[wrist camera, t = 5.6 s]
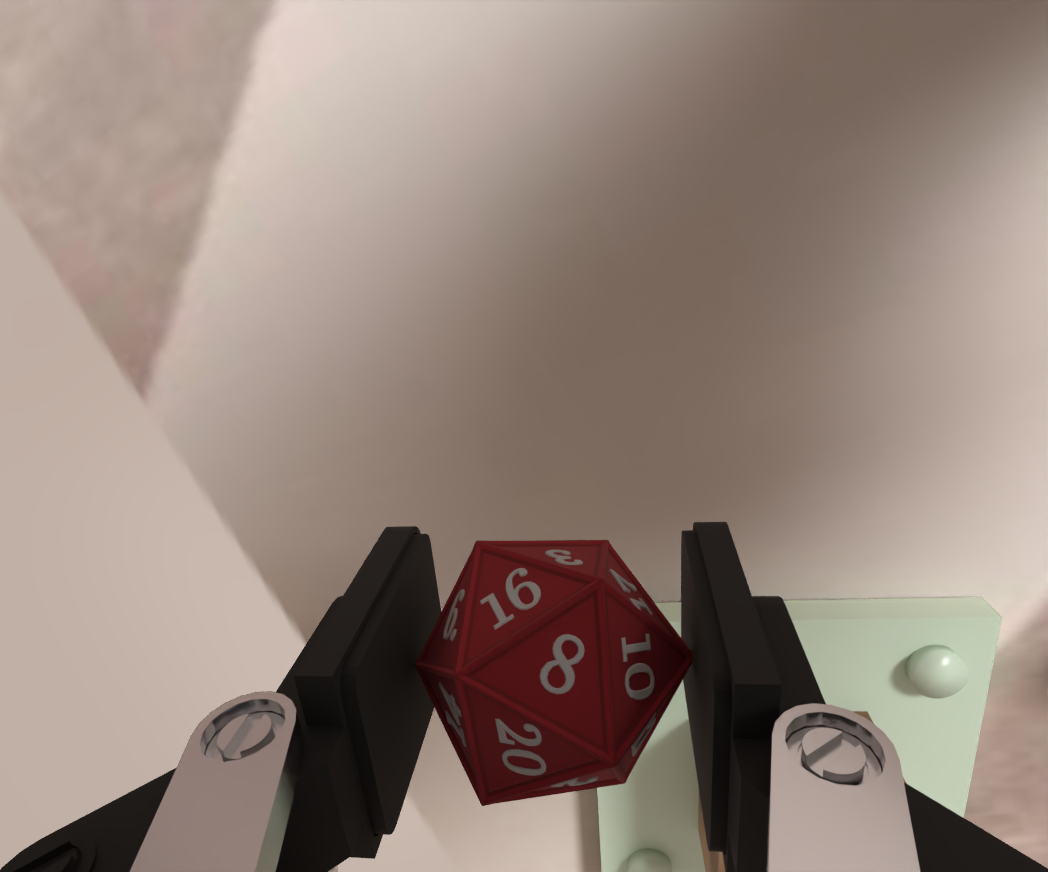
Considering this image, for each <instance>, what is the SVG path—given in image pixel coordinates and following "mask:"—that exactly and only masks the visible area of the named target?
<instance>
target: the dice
mask: <svg viewBox="0 0 1048 872" xmlns="http://www.w3.org/2000/svg"><path fill="white" fill-rule="evenodd" d="M692 663H693V654H692V651H691V650H690V649H689V648H688V646H687V645H686V644H685V642H684V641H683V640H682V638H681V637H680V636H679V634H678V633H677V632H676V630H675V629H674V628H673V627H672V625H671V624H670V623H669V621H668V620H667V619H666V617H665V616H664V615H663V613H662V612H661V611H660V609H659V608H658V607H657V605H656V604H655V603H654V601H653V600H652V599H651V598H650V596H649V595H648V594H647V592H646V591H645V590H644V588H643V587H642V586H641V584H640V583H639V582H638V580H637V579H636V578H635V576H634V575H633V574H632V572H631V571H630V570H629V569H628V567H627V566H626V565H625V563H624V562H623V561H622V559H621V558H620V557H619V555H618V554H617V553H616V551H615V550H614V549H613V547H612V546H611V544H610V543H609V541H608V540H567V541H476V543H475V545H474V548H473V550H472V552H471V554H470V556H469V558H468V560H467V562H466V564H465V566H464V568H463V570H462V572H461V574H460V576H459V578H458V580H457V582H456V584H455V586H454V588H453V590H452V592H451V594H450V596H449V598H448V600H447V602H446V604H445V606H444V608H443V610H442V612H441V614H440V616H439V618H438V620H437V622H436V624H435V626H434V628H433V630H432V632H431V634H430V636H429V638H428V640H427V642H426V644H425V646H424V648H423V650H422V652H421V654H420V656H419V658H418V660H417V661H416V664H415V667H416V670H417V672H418V673H419V675H420V677H421V680H422V682H423V684H424V686H425V688H426V690H427V692H428V694H429V696H430V698H431V700H432V702H433V705H434V707H435V709H436V711H437V713H438V715H439V717H440V719H441V721H442V723H443V725H444V728H445V730H446V732H447V734H448V736H449V738H450V740H451V742H452V744H453V746H454V748H455V751H456V753H457V755H458V757H459V759H460V761H461V763H462V765H463V767H464V769H465V772H466V774H467V776H468V778H469V780H470V782H471V784H472V786H473V788H474V790H475V792H476V795H477V797H478V799H479V801H480V803H481V805H482V806H485V805H489V804H494V803H500V802H507V801H514V800H520V799H527V798H533V797H540V796H546V795H553V794H560V793H566V792H573V791H579V790H586V789H592V788H599V787H606V786H612V785H619V784H625V783H626V781H627V779H628V777H629V775H630V773H631V771H632V769H633V768H634V766H635V764H636V762H637V760H638V759H639V757H640V755H641V753H642V752H643V750H644V748H645V746H646V744H647V743H648V741H649V739H650V737H651V736H652V734H653V732H654V730H655V728H656V727H657V725H658V723H659V721H660V719H661V718H662V716H663V714H664V712H665V711H666V709H667V707H668V705H669V703H670V702H671V700H672V698H673V696H674V695H675V693H676V691H677V689H678V687H679V686H680V684H681V682H682V680H683V678H684V677H685V675H686V673H687V671H688V670H689V668H690V666H691V665H692Z"/></svg>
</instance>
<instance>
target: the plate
mask: <svg viewBox="0 0 1048 872" xmlns="http://www.w3.org/2000/svg"><path fill="white" fill-rule="evenodd" d="M783 601H784V603H785V605H786V607H787V610H788V612H789V615H790V617H791V619H792V622H793V624H794V627H795V629H796V632H797V634H798V637H799V639H800V642H801V644H802V646H803V649H804V651H805V654H806V656H807V659H808V661H809V664H810V666H811V669H812V671H813V673H814V676H815V678H816V681H817V683H818V686H819V688H820V691H821V693H822V696H823V698H824V700H825V703H826V704H828V705H833V706H837V707H841V708H844V709H848V710H850V711H867V712H868V714H869V716H870V717H871V719H872V721H873V723H874V725H876V726H877V727H878V728H880V729H881V730H882V731H883V732H884V733H885V734H886V736H887V737H888V738H889V739H890V741H891V742H892V743H893V744H894V747H895V749H896V752H897V754H898V757H899V759H900V764H901V770H902V775H903V778H904V779H905V781H906V783H907V784H908V785H910V786H911V787H913V788H915V789H916V790H918V791H920V792H921V793H923V794H925V795H926V796H928V797H930V798H931V799H933V800H935V801H936V802H938V803H940V804H941V805H943V806H945V807H946V808H948V809H950V810H951V811H953V812H955V813H956V814H958V815H960V816H961V817H963V818H964V813H965V808H966V803H967V797H968V792H969V787H970V782H971V776H972V771H973V766H974V761H975V755H976V750H977V745H978V740H979V735H980V729H981V724H982V719H983V714H984V708H985V703H986V698H987V693H988V687H989V682H990V677H991V672H992V667H993V661H994V656H995V651H996V646H997V640H998V635H999V630H1000V625H1001V619H1002V617H1001V616H1000V614H999V613H998V612H997V611H996V610H995V609H994V608H993V607H992V606H991V605H990V604H989V603H988V602H987V601H986V600H985V599H984V598H983V597H950V598H891V599H833V600H783ZM655 604H656V605H657V607H658V608H659V609H660V611H661V612H662V613H663V615H664V616H665V617H666V619H667V620H668V621H669V623H670V624H671V625H672V627H673V628H674V629H675V630H676V632H677V633H678V634H679V636H680V637H681V602H657V603H655ZM597 797H598V815H599V834H600V852H601V870H602V872H706V870H705V865H704V859H703V854H702V848H701V842H700V837H699V831H698V807H699V786H698V779H697V772H696V765H695V759H694V752H693V745H692V738H691V731H690V724H689V718H688V711H687V704H686V697H685V690H684V683H683V680H682V682H681V684H680V686H679V687H678V689H677V691H676V693H675V695H674V696H673V698H672V700H671V702H670V703H669V705H668V707H667V709H666V711H665V712H664V714H663V716H662V718H661V719H660V721H659V723H658V725H657V727H656V728H655V730H654V732H653V734H652V736H651V737H650V739H649V741H648V743H647V744H646V746H645V748H644V750H643V752H642V753H641V755H640V757H639V759H638V760H637V762H636V764H635V766H634V768H633V769H632V771H631V773H630V775H629V777H628V779H627V781H626V783H625V784H619V785H612V786H606V787H599V788H597Z"/></svg>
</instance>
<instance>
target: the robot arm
mask: <svg viewBox="0 0 1048 872" xmlns="http://www.w3.org/2000/svg"><path fill="white" fill-rule="evenodd" d="M440 614H441V608H440V601H439V595H438V588H437V581H436V575H435V568H434V562H433V555H432V549H431V542H430V538H429V536H428V535H427V534H420V531H419V529H418V528H417V527H386V528H385V529H384V531H383V533H382V534H381V536H380V537H379V539H378V541H377V542H376V544H375V545H374V547H373V549H372V550H371V552H370V554H369V555H368V557H367V558H366V560H365V562H364V563H363V565H362V566H361V568H360V570H359V571H358V573H357V575H356V576H355V578H354V579H353V581H352V583H351V584H350V586H349V587H348V589H347V591H346V592H345V594H344V595H343V596H341V597H338V598H336V600H335V601H334V602H333V603H332V605H331V606H330V608H329V609H328V611H327V612H326V614H325V616H324V617H323V619H322V620H321V622H320V623H319V625H318V627H317V628H316V630H315V631H314V633H313V634H312V636H311V638H310V639H309V641H308V642H307V644H306V646H305V647H304V649H303V650H302V652H301V653H300V655H299V657H298V658H297V660H296V661H295V663H294V665H293V666H292V668H291V669H290V671H289V672H288V674H287V675H286V677H285V679H284V680H283V682H282V683H281V685H280V686H279V688H278V690H277V691H276V692H271V691H270V692H255V693H251V694H247V695H243V696H240V697H237V698H235V699H233V700H231V701H228V702H226V703H224V704H223V705H221V706H220V707H218V708H217V709H215V710H214V711H212V712H211V713H210V714H209V715H208V716H207V717H206V718H204V719H203V721H202V722H200V723H199V724H198V726H197V728H196V729H195V731H194V733H193V734H192V735H191V737H190V739H189V742H188V744H187V746H186V748H185V751H184V753H183V755H182V757H181V759H180V761H179V764H178V766H177V768H175V769H173V770H171V771H169V772H168V773H166V774H164V775H162V776H160V777H158V778H156V779H154V780H152V781H150V782H149V783H147V784H145V785H143V786H141V787H139V788H137V789H135V790H133V791H131V792H129V793H128V794H126V795H124V796H122V797H120V798H118V799H116V800H114V801H112V802H111V803H109V804H107V805H105V806H103V807H101V808H99V809H97V810H95V811H93V812H91V813H90V814H88V815H86V816H84V817H82V818H80V819H78V820H76V821H74V822H72V823H70V824H69V825H67V826H65V827H63V828H61V829H59V830H57V831H55V832H53V833H52V834H50V835H48V836H46V837H44V838H42V839H40V840H39V841H37V842H35V843H34V844H32V845H31V846H29V847H27V848H26V849H24V850H23V851H21V852H20V853H19V854H18V855H16V856H15V857H14V858H13V859H12V860H10V861H9V862H8V863H7V864H6V865H5V866H3V867H2V868H1V870H0V872H338V867H337V865H338V864H340V863H341V862H343V861H344V860H346V859H347V858H349V857H359V858H375V856H376V853H377V850H378V848H379V845H380V842H381V839H382V836H383V834H392V833H393V831H394V829H395V827H396V824H397V821H398V818H399V815H400V811H401V809H402V805H403V802H404V799H405V796H406V793H407V790H408V787H409V784H410V781H411V778H412V774H413V771H414V768H415V765H416V762H417V759H418V756H419V753H420V750H421V746H422V743H423V740H424V737H425V734H426V731H427V728H428V725H429V722H430V719H431V715H432V712H433V709H434V705H433V702H432V700H431V698H430V696H429V694H428V692H427V690H426V688H425V686H424V684H423V682H422V680H421V677H420V675H419V673H418V672H417V670H416V667H415V664H416V661H417V660H418V658H419V656H420V654H421V652H422V650H423V648H424V646H425V644H426V642H427V640H428V638H429V636H430V634H431V632H432V630H433V628H434V626H435V624H436V622H437V620H438V618H439V616H440ZM681 638H682V640H683V641H684V642H685V644H686V645H687V646H688V648H689V649H690V650H691V651H692V654H693V663H692V665H691V666H690V668H689V670H688V671H687V673H686V675H685V677H684V678H683V683H684V690H685V697H686V704H687V711H688V718H689V724H690V731H691V738H692V745H693V752H694V759H695V765H696V772H697V779H698V786H699V793H700V800H701V806H702V813H703V820H704V827H705V834H706V841H707V846H708V850H709V851H713V852H722V854H723V860H724V866H725V872H1048V869H1047V868H1046V867H1044V866H1042V865H1041V864H1039V863H1037V862H1036V861H1034V860H1032V859H1031V858H1029V857H1028V856H1026V855H1024V854H1023V853H1021V852H1019V851H1018V850H1016V849H1014V848H1013V847H1011V846H1009V845H1008V844H1006V843H1004V842H1003V841H1001V840H999V839H998V838H996V837H994V836H993V835H991V834H989V833H988V832H986V831H984V830H983V829H981V828H979V827H978V826H976V825H974V824H973V823H971V822H969V821H968V820H966V819H964V818H963V817H961V816H960V815H958V814H956V813H955V812H953V811H951V810H950V809H948V808H946V807H945V806H943V805H941V804H940V803H938V802H936V801H935V800H933V799H931V798H930V797H928V796H926V795H925V794H923V793H921V792H920V791H918V790H916V789H915V788H913V787H911V786H910V785H908V784H906V783H905V782H904V781H903V775H902V770H901V764H900V759H899V757H898V754H897V752H896V749H895V747H894V744H893V743H892V742H891V741H890V739H889V738H888V737H887V736H886V734H885V733H884V732H883V731H882V730H881V729H880V728H878V727H877V726H876V725H874V724H873V723H872V722H871V721H869V720H868V719H867V718H865V717H862V716H860V715H858V714H856V713H854V712H852V711H850V710H848V709H844V708H841V707H837V706H833V705H828V704H826V703H825V700H824V698H823V696H822V693H821V691H820V688H819V686H818V683H817V681H816V678H815V676H814V673H813V671H812V669H811V666H810V664H809V661H808V659H807V656H806V654H805V651H804V649H803V646H802V644H801V642H800V639H799V637H798V634H797V632H796V629H795V627H794V624H793V622H792V619H791V617H790V615H789V612H788V610H787V607H786V605H785V603H784V601H783V599H782V598H781V597H779V596H751V593H750V590H749V587H748V584H747V581H746V578H745V575H744V572H743V569H742V566H741V563H740V560H739V557H738V554H737V551H736V548H735V545H734V542H733V539H732V536H731V533H730V530H729V527H728V525H727V522H694V524H693V531H682V543H681Z"/></svg>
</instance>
